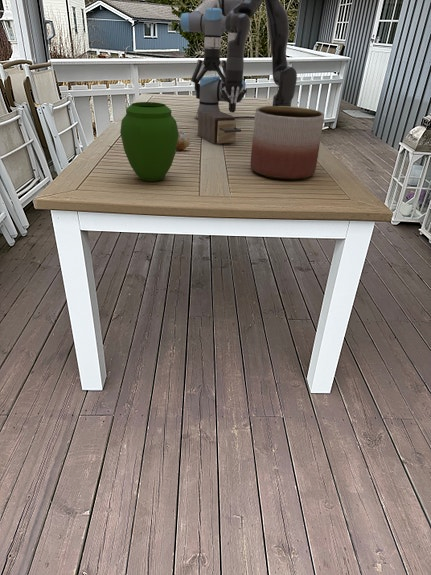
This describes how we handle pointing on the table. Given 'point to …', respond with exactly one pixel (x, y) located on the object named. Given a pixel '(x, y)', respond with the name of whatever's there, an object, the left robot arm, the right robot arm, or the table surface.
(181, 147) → the seashell
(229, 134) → the drawer
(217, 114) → the small wooden cabinet
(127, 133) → the vase
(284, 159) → the planter
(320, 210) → the table surface
